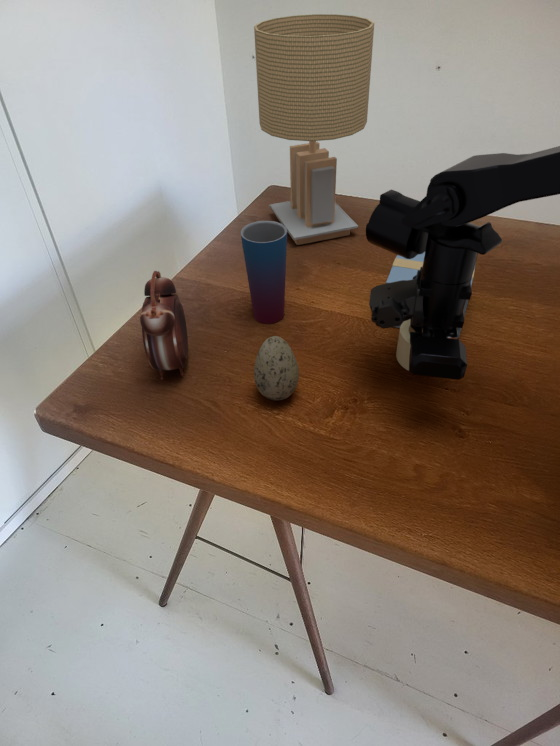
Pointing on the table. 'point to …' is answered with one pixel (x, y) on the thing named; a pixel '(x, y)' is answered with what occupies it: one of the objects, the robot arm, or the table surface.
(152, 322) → the alarm clock
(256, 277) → the cup
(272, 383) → the decorative egg
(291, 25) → the desk lamp
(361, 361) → the table surface
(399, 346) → the tape
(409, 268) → the carton
